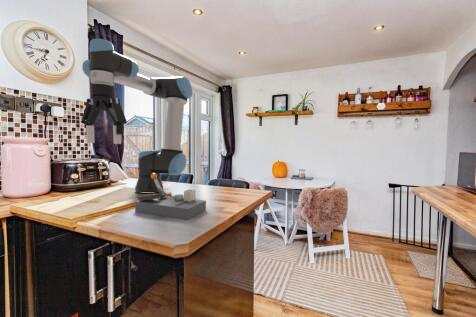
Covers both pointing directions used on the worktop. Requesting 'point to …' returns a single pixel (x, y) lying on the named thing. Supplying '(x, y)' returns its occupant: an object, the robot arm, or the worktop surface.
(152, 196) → the rocker
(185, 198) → the slider
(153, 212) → the grey rectangular base
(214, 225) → the worktop surface
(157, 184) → the lever
